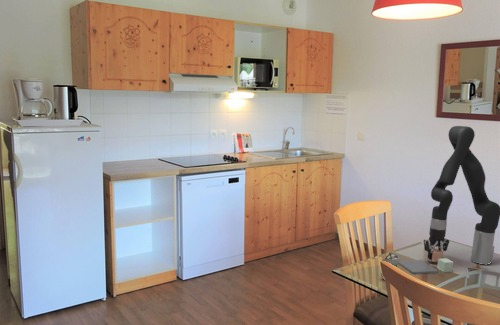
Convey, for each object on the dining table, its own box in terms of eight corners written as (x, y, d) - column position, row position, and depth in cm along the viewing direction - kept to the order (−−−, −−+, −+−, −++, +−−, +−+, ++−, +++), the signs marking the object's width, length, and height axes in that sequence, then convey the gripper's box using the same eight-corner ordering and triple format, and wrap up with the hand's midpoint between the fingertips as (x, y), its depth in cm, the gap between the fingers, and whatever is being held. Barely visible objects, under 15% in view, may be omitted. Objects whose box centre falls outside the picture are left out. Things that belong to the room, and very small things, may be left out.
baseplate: (420, 261, 226) (420, 259, 226) (438, 272, 212) (438, 270, 212) (396, 262, 222) (396, 260, 222) (412, 274, 209) (412, 272, 209)
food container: (393, 283, 197) (396, 262, 196) (380, 279, 200) (382, 259, 199) (400, 274, 208) (402, 254, 206) (387, 271, 211) (389, 251, 209)
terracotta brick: (435, 257, 228) (436, 248, 227) (441, 261, 223) (442, 252, 222) (427, 258, 227) (428, 248, 226) (433, 261, 222) (434, 252, 221)
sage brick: (445, 267, 220) (446, 258, 219) (452, 271, 215) (453, 262, 214) (437, 268, 219) (438, 258, 218) (443, 272, 214) (444, 262, 213)
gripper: (445, 224, 227) (441, 255, 230) (421, 225, 224) (417, 256, 227) (455, 228, 220) (451, 261, 223) (430, 229, 217) (426, 262, 219)
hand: (434, 258), depth 225 cm, fingers closed on terracotta brick, 5 cm apart
